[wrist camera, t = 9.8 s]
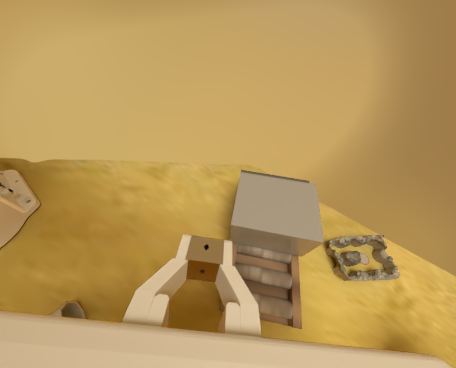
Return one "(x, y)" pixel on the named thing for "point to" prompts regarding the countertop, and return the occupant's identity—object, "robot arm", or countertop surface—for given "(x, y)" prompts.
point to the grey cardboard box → (276, 215)
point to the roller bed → (273, 288)
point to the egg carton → (362, 258)
